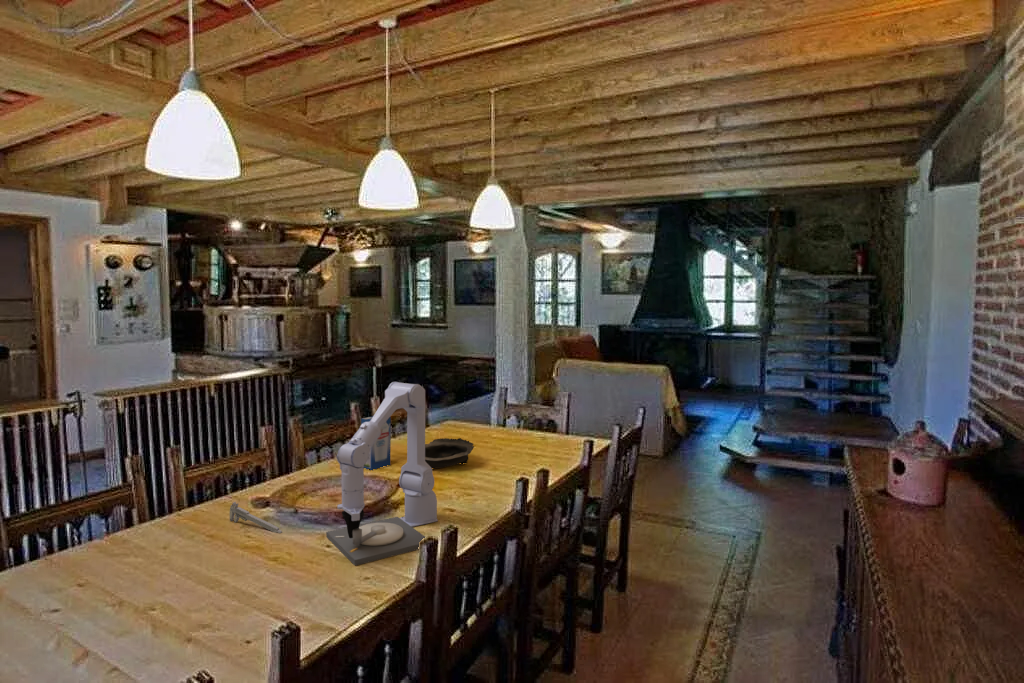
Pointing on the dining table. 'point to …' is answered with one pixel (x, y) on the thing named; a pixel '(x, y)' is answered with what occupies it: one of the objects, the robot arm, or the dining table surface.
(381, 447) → the milk carton
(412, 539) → the dial plate
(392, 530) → the dial
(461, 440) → the stone bowl
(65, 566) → the dining table surface
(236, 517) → the caliper
